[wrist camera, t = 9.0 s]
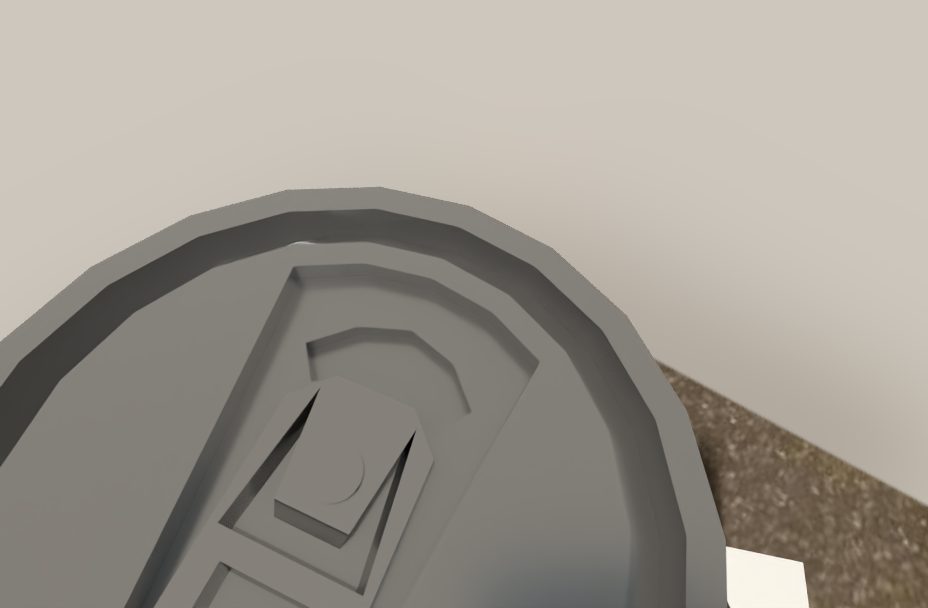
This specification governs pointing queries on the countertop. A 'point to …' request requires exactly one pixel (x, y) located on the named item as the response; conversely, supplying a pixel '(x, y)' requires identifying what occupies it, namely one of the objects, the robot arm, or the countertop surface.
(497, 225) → the green soda can
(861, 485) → the countertop surface
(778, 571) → the off-white plastic box
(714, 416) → the countertop surface
